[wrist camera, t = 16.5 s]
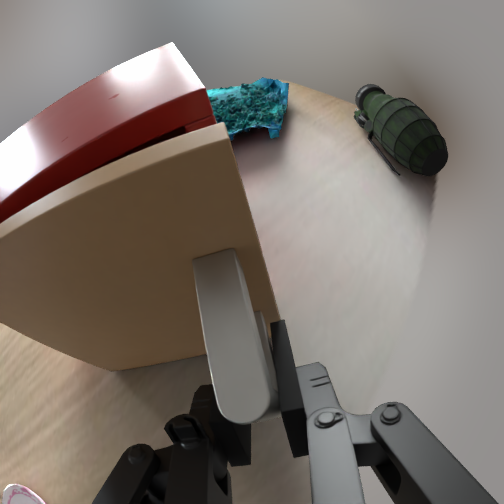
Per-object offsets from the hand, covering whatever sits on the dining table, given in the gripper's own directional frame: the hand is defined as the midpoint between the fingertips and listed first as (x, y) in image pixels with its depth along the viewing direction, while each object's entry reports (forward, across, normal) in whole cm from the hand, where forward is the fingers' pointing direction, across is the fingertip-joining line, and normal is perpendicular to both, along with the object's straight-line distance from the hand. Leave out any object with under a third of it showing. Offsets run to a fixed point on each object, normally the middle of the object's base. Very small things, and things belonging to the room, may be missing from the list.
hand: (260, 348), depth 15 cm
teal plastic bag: (+27, +5, +17) cm, 32 cm away
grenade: (+8, +17, +7) cm, 20 cm away
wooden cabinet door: (+2, -5, -3) cm, 6 cm away
